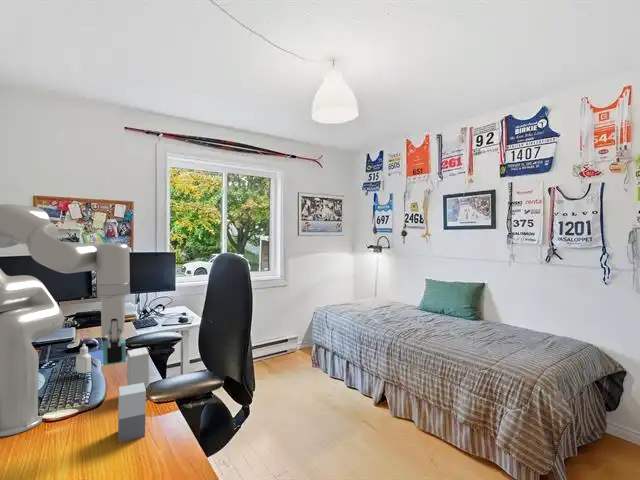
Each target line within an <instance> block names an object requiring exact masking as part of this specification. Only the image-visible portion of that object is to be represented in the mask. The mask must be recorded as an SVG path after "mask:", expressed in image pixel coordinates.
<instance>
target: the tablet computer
mask: <svg viewBox="0 0 640 480" xmlns="http://www.w3.org/2000/svg"><path fill="white" fill-rule="evenodd" d="M88 354H90V356H91V357H93V358H97V359H99V360H100V361H101V364H102V366H101V367H105V366H106V367H107V365H104V366H103V349H100V350H95V351H91V352H88ZM126 361H127V355H126Z"/></svg>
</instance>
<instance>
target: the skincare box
mask: <svg viewBox="0 0 640 480" xmlns="http://www.w3.org/2000/svg"><path fill="white" fill-rule="evenodd" d="M126 356H127V360H126V361H127V365H126V367H127V368H126V369H127V370H126V373H127V374H126V380H127V382H126V386H127V385H133V384H139V383H144V385H145V389H146V388H147V387H148V386H149V387H150V362H149V361H150V360H149V359H150V353H149V351H148V349H147V348H146V347H139V348H135V349H128V350H126ZM146 400H148V399H147V398H146Z"/></svg>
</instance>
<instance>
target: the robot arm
mask: <svg viewBox="0 0 640 480" xmlns="http://www.w3.org/2000/svg"><path fill="white" fill-rule="evenodd" d="M58 234H59V230H58V227H57V225H56V224H55V223H53V222H52V221H51V219H50V215H49V214H48V213H47V212H46V210H44V209H42V208H40V207H37V206H31V205H22V204H13V203H12V204H9V203H3V204H0V249H5V248H11V247H14V246H17V245H22V246H24V247H27V250H28V253H29V255H30V256H31V258H32V260H34V261H35V262H36V263H38V264H40V265H42V266H45V267H46V268H48V269H51V270H53V271H55V272H58V273H60V274H61V273H63V274H75V273H82V272H93V271H96V298H99V299H101V302H100V303H101V305H100V315H101V317H100V321H101V322H100V323H101V330H100V331H101V337H103V338H104V337H105V336H107V341H108V348H107V362H108V363H115V362H121V361H122V345H121V339H122V338H121V336H122V335H123V334H124V331H125V320H126V319H125V317H126V316H125V315H126V297H127V296H130V295H131V286H130V285H131V284H130V280H131V279H130V277H131V276H130V274H131V273H130V248H129V246H128V245H127V244H125V243H119V242H117V243H101V242H100V243H99V242H65V241H62V240H60V239H58ZM0 312H1V313H0V437H7V436H12V435H17V434H20V433H22V432H25V431H29V430H30V429H33V428H35V427H36V426H38V425H40V424H41V423H42V422H43V421H42V419H43V417H39V416H38V410H39V365H40V363H39V361H40V360H39V359H40V358H39V353H38V351H37V350H36V349H35V347H34V346H33V344H32V342H33V341H35V340H38V339H42V338H45V337H47V336H50V335H53V334H56V333H57V332H59V330H61V329H62V327H63V326H64V321H65V319H64V318H65V317H64V312H63V311H62V309H61V307H60V305H59V304H58V302H56V300H55V299H54V297H53V295H52V294H51V293H50V292H49V290H48V288H47V287H46V286H45V284H44V283H43V282H42V281H41V280H39V279H38V278H37V277H35V276H32V275H27V274H26V275H25V274H24V275H22V274H20V275H12V276H11V275H7V274H6V273H5V272H4V271H3V270H2V268H0ZM37 416H38V417H37Z"/></svg>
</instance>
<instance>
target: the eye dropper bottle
mask: <svg viewBox="0 0 640 480" xmlns="http://www.w3.org/2000/svg"><path fill="white" fill-rule="evenodd" d="M88 353H89V347H88V346H86V343H82V346H81V347H80V348H79V353H78V354H77V355H76V356H75V372H76V371H77V372H79V373H87V372H89V371H91V372H92V363H91V356H90V354H88Z"/></svg>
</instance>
